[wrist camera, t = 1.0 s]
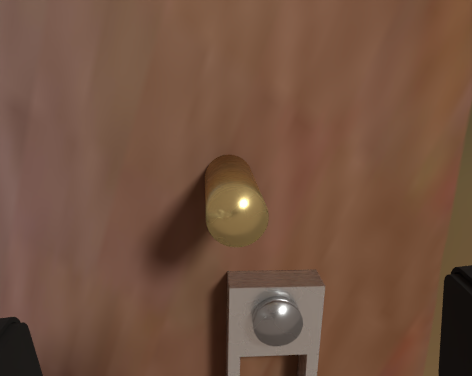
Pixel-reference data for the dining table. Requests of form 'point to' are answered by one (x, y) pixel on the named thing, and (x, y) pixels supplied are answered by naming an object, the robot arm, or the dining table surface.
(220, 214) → the pin
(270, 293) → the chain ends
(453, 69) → the dining table surface
